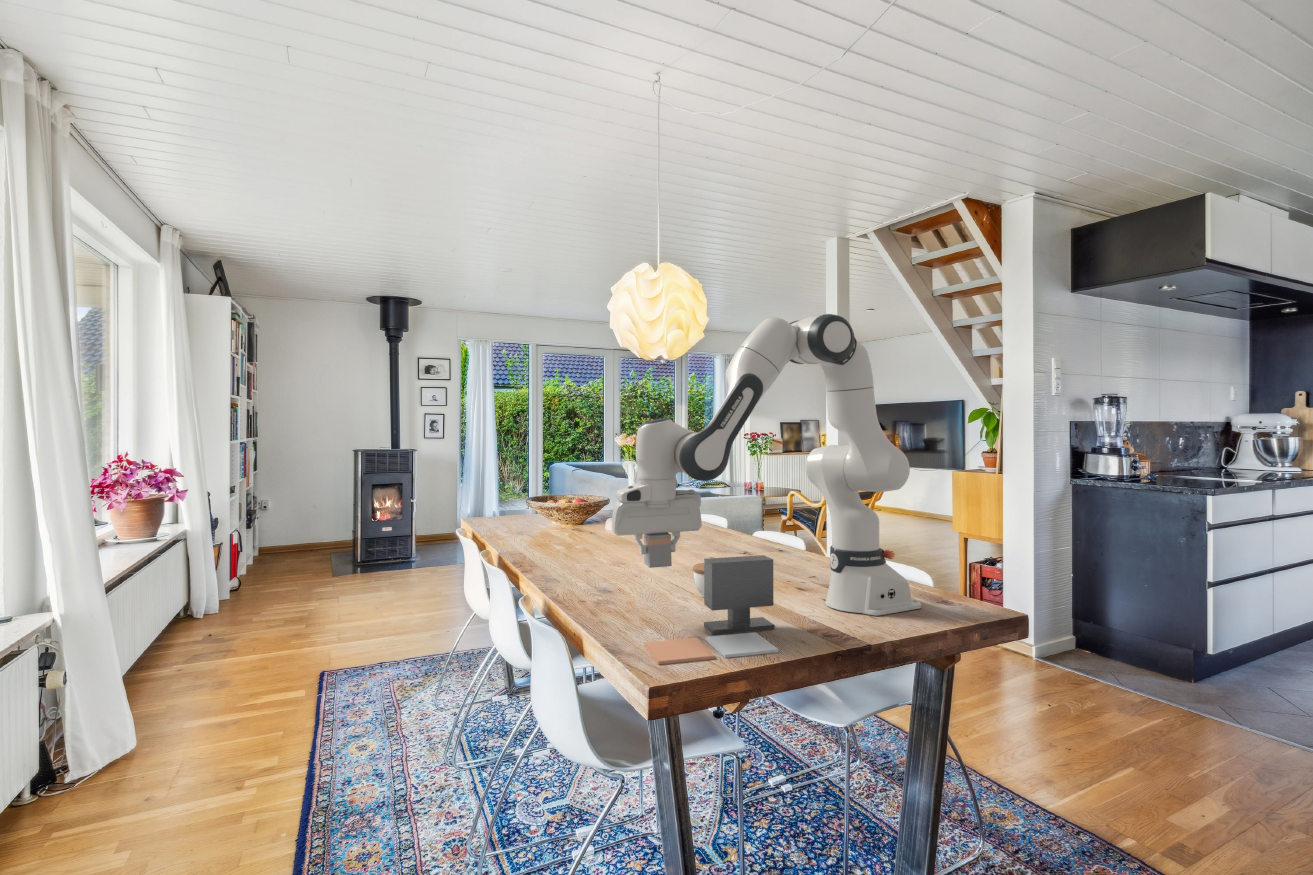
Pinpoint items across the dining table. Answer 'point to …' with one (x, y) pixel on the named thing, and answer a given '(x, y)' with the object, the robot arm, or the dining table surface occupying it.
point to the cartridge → (658, 550)
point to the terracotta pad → (678, 651)
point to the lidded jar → (699, 577)
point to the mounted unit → (738, 592)
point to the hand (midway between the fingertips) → (657, 552)
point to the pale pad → (741, 645)
